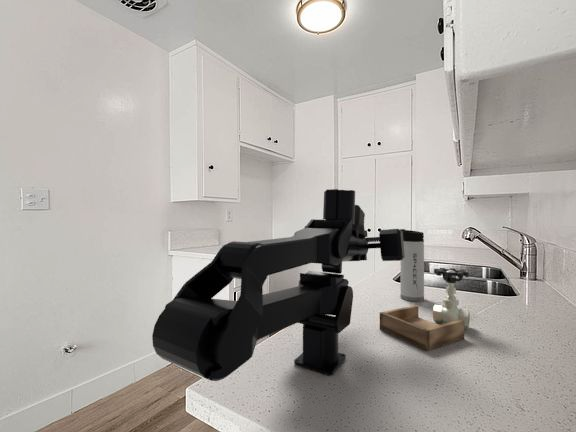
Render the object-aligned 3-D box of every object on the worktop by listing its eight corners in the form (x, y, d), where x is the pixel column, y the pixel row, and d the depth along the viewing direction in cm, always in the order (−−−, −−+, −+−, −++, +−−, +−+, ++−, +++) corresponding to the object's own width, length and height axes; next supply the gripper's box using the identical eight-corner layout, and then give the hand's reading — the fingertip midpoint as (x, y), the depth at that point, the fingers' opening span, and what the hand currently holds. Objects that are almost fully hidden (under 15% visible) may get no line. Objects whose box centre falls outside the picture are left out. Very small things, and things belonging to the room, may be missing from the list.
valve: (467, 334, 57) (467, 274, 57) (431, 326, 61) (431, 270, 61) (470, 324, 62) (470, 269, 62) (436, 318, 66) (436, 266, 66)
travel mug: (405, 294, 87) (405, 228, 87) (427, 298, 82) (427, 229, 82) (395, 298, 83) (395, 229, 83) (418, 303, 78) (418, 230, 78)
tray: (426, 351, 50) (426, 331, 50) (379, 329, 60) (379, 312, 60) (464, 338, 55) (464, 320, 55) (415, 320, 65) (415, 305, 65)
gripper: (390, 198, 51) (407, 209, 64) (299, 210, 61) (330, 217, 74) (395, 261, 49) (411, 259, 62) (302, 263, 59) (333, 261, 72)
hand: (368, 247), depth 67 cm, fingers open, 9 cm apart
